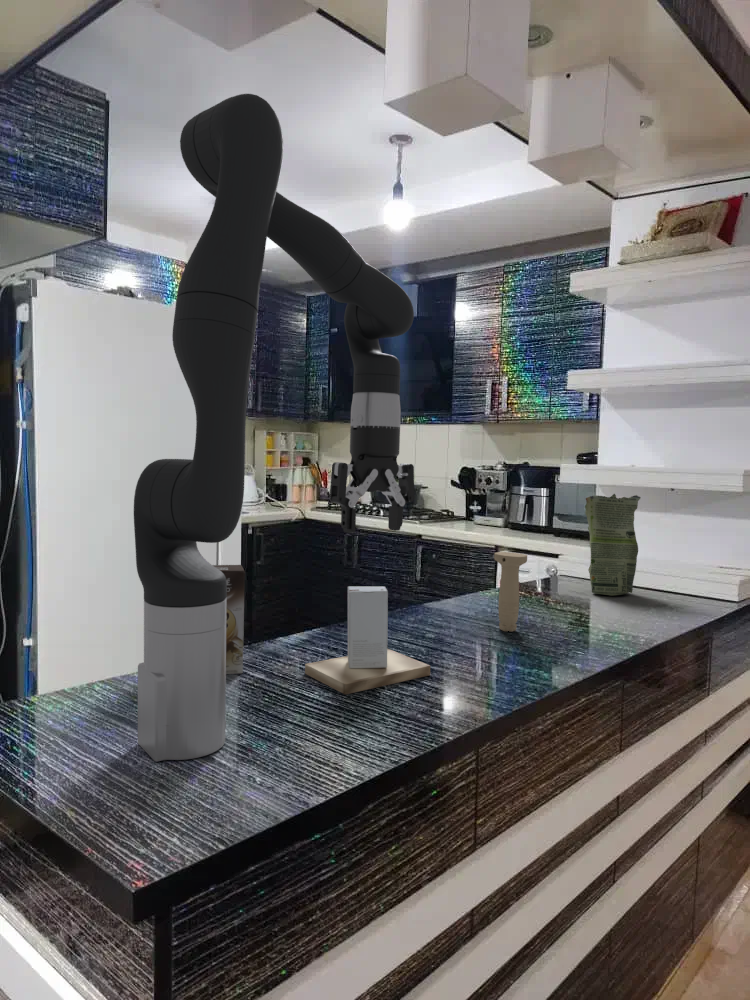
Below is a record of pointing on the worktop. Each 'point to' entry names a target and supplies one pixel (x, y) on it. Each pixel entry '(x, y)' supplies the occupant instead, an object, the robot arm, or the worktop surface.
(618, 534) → the pouch
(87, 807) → the worktop surface
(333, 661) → the birch board
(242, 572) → the coffee box
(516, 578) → the handle
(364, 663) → the skincare box
